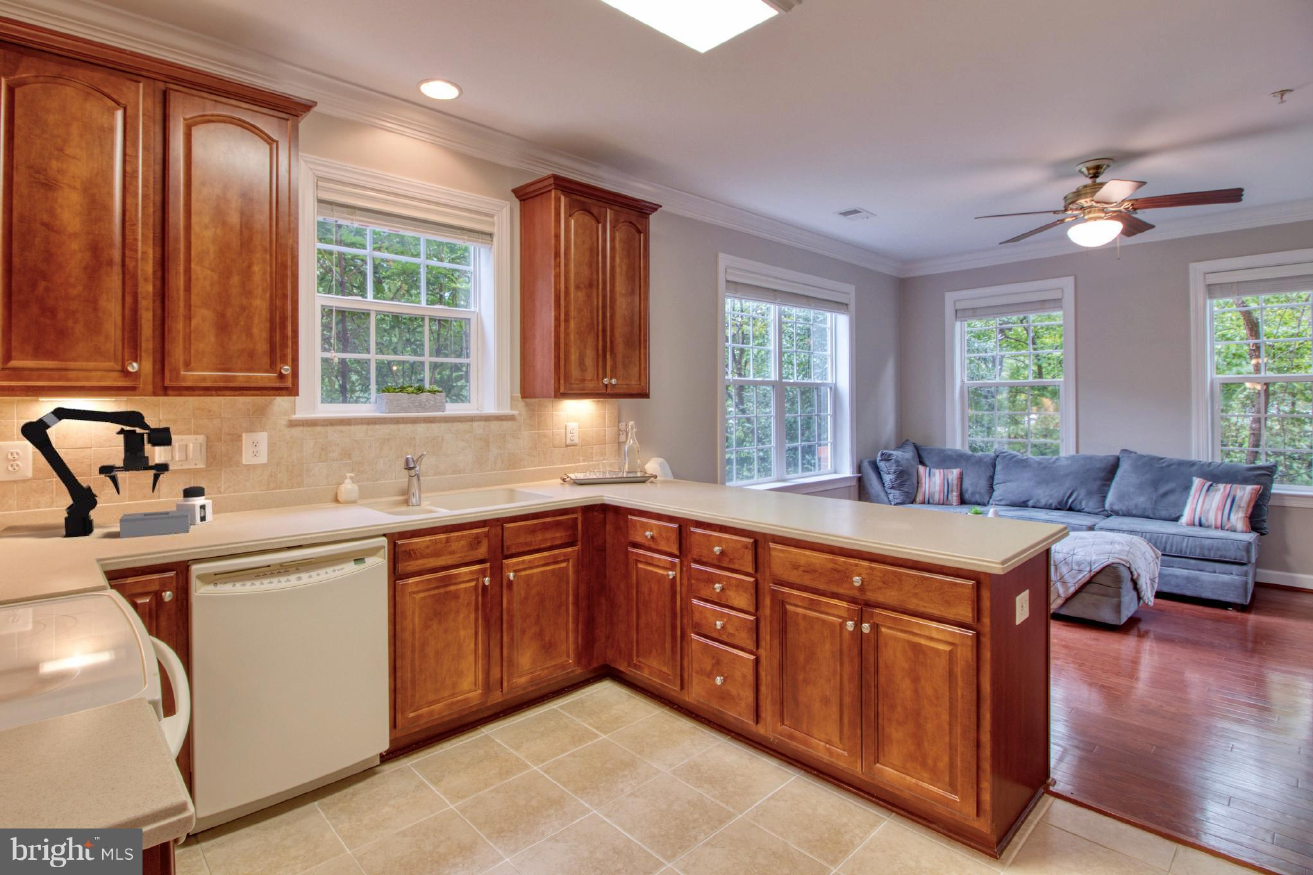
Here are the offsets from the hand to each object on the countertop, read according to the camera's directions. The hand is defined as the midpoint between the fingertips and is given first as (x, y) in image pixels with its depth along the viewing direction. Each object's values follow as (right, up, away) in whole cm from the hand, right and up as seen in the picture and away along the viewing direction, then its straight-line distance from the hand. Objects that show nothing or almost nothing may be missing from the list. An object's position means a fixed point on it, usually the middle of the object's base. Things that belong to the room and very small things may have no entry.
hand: (136, 493), depth 232 cm
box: (+10, -12, -5) cm, 17 cm away
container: (+11, -12, +13) cm, 21 cm away
